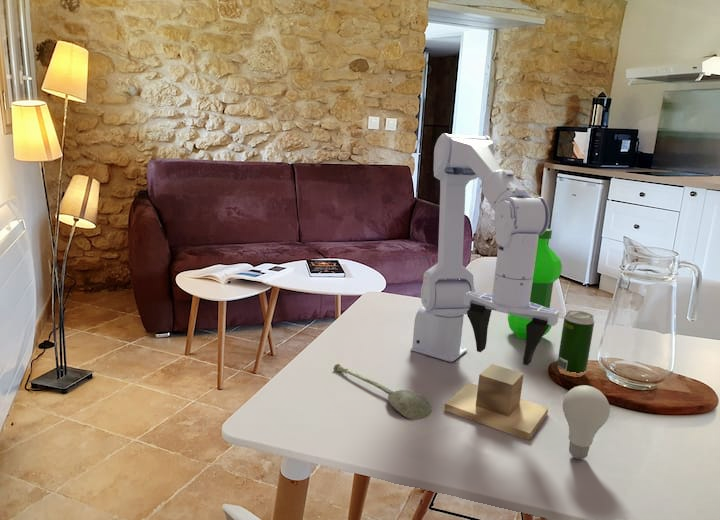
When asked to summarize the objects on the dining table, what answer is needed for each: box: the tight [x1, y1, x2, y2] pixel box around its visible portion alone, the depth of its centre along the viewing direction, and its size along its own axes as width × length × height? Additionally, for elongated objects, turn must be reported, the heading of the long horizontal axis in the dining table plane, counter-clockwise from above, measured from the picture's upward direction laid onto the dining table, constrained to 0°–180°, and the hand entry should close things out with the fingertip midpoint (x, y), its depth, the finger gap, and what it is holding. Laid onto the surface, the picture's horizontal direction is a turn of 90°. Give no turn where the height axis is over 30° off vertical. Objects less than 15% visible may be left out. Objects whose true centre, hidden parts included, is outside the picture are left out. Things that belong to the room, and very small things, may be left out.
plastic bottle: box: [507, 227, 563, 341], centre depth 122 cm, size 10×10×25 cm
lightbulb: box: [562, 384, 611, 460], centre depth 77 cm, size 6×6×11 cm
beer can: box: [556, 309, 595, 373], centre depth 105 cm, size 5×5×12 cm
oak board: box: [443, 382, 549, 441], centre depth 90 cm, size 14×10×1 cm
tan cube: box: [476, 363, 525, 417], centre depth 89 cm, size 6×6×6 cm
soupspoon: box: [333, 363, 433, 421], centre depth 94 cm, size 22×3×7 cm
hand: (503, 356), depth 87 cm, fingers open, 7 cm apart
